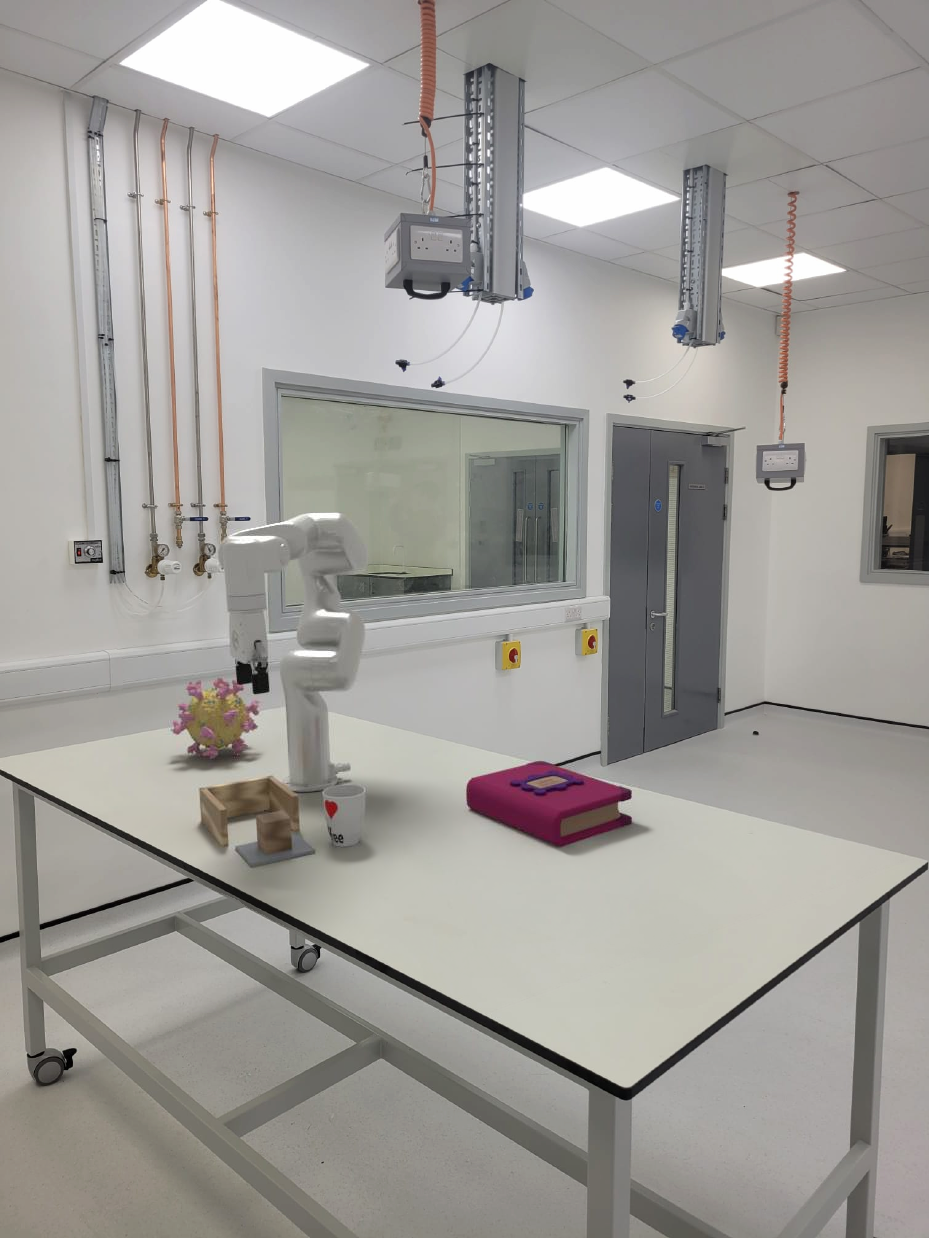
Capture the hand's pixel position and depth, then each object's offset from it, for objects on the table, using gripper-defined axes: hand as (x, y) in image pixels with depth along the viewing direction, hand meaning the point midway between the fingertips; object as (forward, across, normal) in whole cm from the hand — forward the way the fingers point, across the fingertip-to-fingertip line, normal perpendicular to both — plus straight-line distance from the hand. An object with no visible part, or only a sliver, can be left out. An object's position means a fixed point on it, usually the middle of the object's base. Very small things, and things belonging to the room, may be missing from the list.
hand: (253, 688), depth 173 cm
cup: (+28, +20, +10) cm, 36 cm away
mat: (+28, +16, -3) cm, 32 cm away
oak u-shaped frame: (+28, 0, -3) cm, 28 cm away
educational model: (+31, -56, +8) cm, 65 cm away
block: (+27, +16, -3) cm, 32 cm away
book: (+29, +31, +50) cm, 65 cm away
